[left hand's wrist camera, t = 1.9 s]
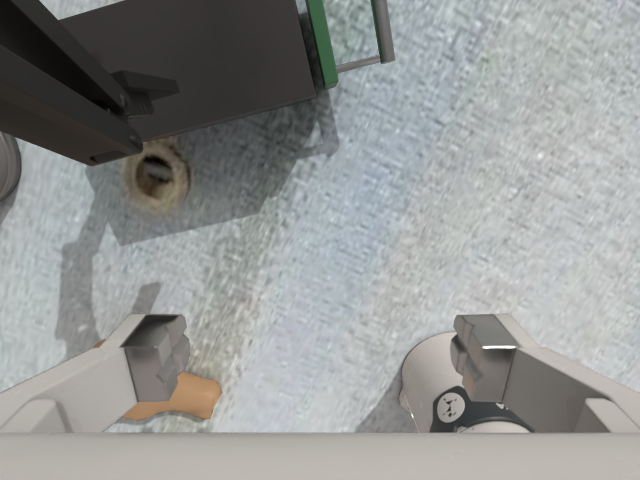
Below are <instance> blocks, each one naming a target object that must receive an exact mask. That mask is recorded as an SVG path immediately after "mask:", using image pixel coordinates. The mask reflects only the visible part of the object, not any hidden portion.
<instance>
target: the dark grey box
mask: <svg viewBox="0 0 640 480" xmlns="http://www.w3.org/2000/svg"><path fill="white" fill-rule="evenodd" d="M58 21H59V22H60V23H61V24H62V25H63V26H64V27H65V28H66V29H67V30H68V31H69V32H70V33H71V34H72V35H73V36H74V37H75V38H76V40H77V41H78V42H79V43H80V44H81V45H82V46H83V47H84V48H85V49H86V50H87V51H88V52H89V53H90V54H91V55H92V56H93V57H94V58H95V59H96V60H97V61H98V63H99V64H100V65H101V66H102V67H103V68H104V69H105V70H106V71H107V72H108V73H109V74H110V73H114V72H117V71H120V70H126V71H131V72H136V73H141V74H147V75H152V76H157V77H162V78H168V79H173V80H176V82H177V84H178V87H179V90H180V93H177V94H173V95H170V96H167V97H163V98H160V99H156V100H153V101H151V103H152V105H153V108H154V110H155V111H154V113H153V114H152V115H149V116H146V117H142V118H139V119H135V120H132V121H128V125H129V126H131V127H132V128H133V129H135V130H136V131H137V133H138V134H139V136H140V138H141V140H142V142H146V141H151V140H156V139H161V138H165V137H169V136H173V135H176V134H180V133H184V132H188V131H192V130H196V129H199V128H203V127H207V126H211V125H215V124H219V123H223V122H226V121H230V120H234V119H238V118H242V117H246V116H249V115H253V114H257V113H261V112H265V111H269V110H273V109H276V108H280V107H284V106H288V105H292V104H296V103H300V102H303V101H307V100H311V99H315V98H317V94H316V90H315V85H314V81H313V77H312V72H311V68H310V63H309V59H308V54H307V50H306V46H305V41H304V37H303V32H302V28H301V23H300V19H299V14H298V10H297V6H296V1H295V0H124V1H121V2H118V3H114V4H111V5H108V6H104V7H101V8H98V9H94V10H91V11H88V12H84V13H81V14H78V15H74V16H71V17H68V18H64V19H61V20H58Z"/></svg>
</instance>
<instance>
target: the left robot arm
mask: <svg viewBox="0 0 640 480" xmlns="http://www.w3.org/2000/svg"><path fill="white" fill-rule="evenodd" d="M186 327H187V326H186V321H185V317H184V316H183V315H182V314H130V315H128V316H127V317H126V318H125V319H124V321H123V322H122V323H121V324H120V325H119V326H118V327H117V328H116V329H115V330H114V331H113V333H112V334H111V335H110V336H109V337H108V338H107V339H106V340H105V341H104V342H103V344H102V345H101V346H100V347H99V348H92V349H89V350H87V351H85V352H83V353H81V354H79V355H77V356H75V357H73V358H71V359H69V360H67V361H65V362H63V363H61V364H59V365H56V366H54V367H52V368H50V369H48V370H46V371H44V372H42V373H40V374H38V375H36V376H34V377H32V378H30V379H28V380H26V381H23V382H21V383H19V384H17V385H15V386H13V387H11V388H9V389H7V390H5V391H3V392H1V393H0V480H640V393H639V392H637V391H635V390H633V389H631V388H629V387H627V386H625V385H623V384H620V383H618V382H616V381H614V380H612V379H610V378H608V377H606V376H604V375H602V374H600V373H598V372H596V371H594V370H592V369H590V368H588V367H585V366H583V365H581V364H579V363H577V362H575V361H573V360H571V359H569V358H567V357H565V356H563V355H561V354H559V353H557V352H555V351H553V350H551V349H548V348H541V347H540V346H539V345H538V344H537V342H536V341H535V340H534V339H533V338H532V337H531V336H530V335H529V334H528V333H527V331H526V330H525V329H524V328H523V327H522V326H521V325H520V324H519V323H518V322H517V320H516V319H515V318H514V317H513V316H512V315H510V314H508V313H507V314H481V315H457V316H456V318H455V320H454V325H453V327H454V329H455V331H456V332H449V333H442V334H439V335H435V336H433V337H430V338H428V339H426V340H424V341H423V342H421V343H420V344H418V345H417V346H416V347H415V348H414V349H413V350H412V351H411V352H410V353H409V355H408V356H407V358H406V360H405V362H404V364H403V368H402V383H403V387H402V390H401V393H400V395H399V403H400V405H401V407H402V408H404V409H405V410H407V411H409V412H411V415H412V418H413V420H414V423H415V425H416V428H417V431H418V433H103V432H104V431H105V430H106V429H108V428H109V427H110V426H111V425H113V424H114V423H115V422H116V421H117V420H119V419H120V418H121V417H122V416H123V415H125V414H126V413H127V412H128V411H130V410H131V409H132V408H133V407H134V406H136V405H137V404H138V403H137V402H161V401H169V400H170V398H171V396H172V394H173V392H174V390H175V388H176V386H177V385H178V379H177V376H178V375H180V374H181V373H183V372H184V371H185V369H186V366H187V364H188V360H189V356H190V344H189V339H188V338H187V337H186V336H185V335H184V334H183V332H184V331H185V329H186Z"/></svg>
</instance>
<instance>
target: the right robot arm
mask: <svg viewBox="0 0 640 480" xmlns="http://www.w3.org/2000/svg"><path fill="white" fill-rule="evenodd" d="M177 93H180V90H179V87H178V84H177V82H176V80H173V79H168V78H162V77H157V76H152V75H147V74H141V73H136V72H131V71H126V70H120V71H117V72H114V73H110V74H109V73H108V72H107V71H106V70H105V69H104V68H103V67H102V66H101V65H100V64H99V63H98V61H97V60H96V59H95V58H94V57H93V56H92V55H91V54H90V53H89V52H88V51H87V50H86V49H85V48H84V47H83V46H82V45H81V44H80V43H79V42H78V41H77V40H76V38H75V37H74V36H73V35H72V34H71V33H70V32H69V31H68V30H67V29H66V28H65V27H64V26H63V25H62V24H61V23H60V22H59V21H58V20H57V19H56V18H55V17H54V15H53V14H52V13H51V12H50V11H49V10H48V9H47V8H46V7H45V6H44V5H43V4H42V3H41V2H40V1H39V0H0V201H2V200H3V199H5V198H6V197H7V196H8V195H9V194H10V193H11V192H12V191H13V189H14V188H15V186H16V184H17V182H18V179H19V175H20V168H21V161H20V153H19V149H18V145H17V142H16V139H15V137H17V138H19V139H22V140H24V141H27V142H30V143H32V144H35V145H37V146H40V147H42V148H45V149H48V150H50V151H53V152H55V153H58V154H61V155H63V156H66V157H68V158H71V159H73V160H76V161H79V162H81V163H84V164H86V165H89V166H95V165H99V164H102V163H106V162H110V161H113V160H117V159H120V158H124V157H128V156H131V155H135V154H138V153H141V152H142V151H143V144H142V140H141V138H140V136H139V134H138V133H137V131H136V130H135V129H133V128H132V127H131V126H129V125H128V121H132V120H135V119H139V118H142V117H146V116H149V115H152V114H153V113H154V111H155V110H154V108H153V105H152V103H151V101H153V100H156V99H160V98H163V97H167V96H170V95H173V94H177Z"/></svg>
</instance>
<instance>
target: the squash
mask: <svg viewBox="0 0 640 480" xmlns="http://www.w3.org/2000/svg"><path fill="white" fill-rule="evenodd" d="M105 340H106V339H104V340H103V341H101V342H99V343H97V344H96V345H95V346H94V347H93V348H99V347H100V346H101V345H102V344H103V342H104V341H105ZM177 379H178V385H177V386H176V388H175V390H174V392H173V394H172V396H171V398H170V400H169V401H161V402H137V403H138V404H137V405H136V406H134V407H133V408H132V409H131V410H130V411H128V412H127V413H126V414H125V415H123V416H122V417H123V418H128V419H133V420H141V419H145V418H148V417H152V416H153V415H155V414H157V413H159V412H164V411H169V410H175V411H180V412H185V413H190V414H192V415H195V416H197V417H199V418H202V419H204V420H205V419H210V418H211V415H212V412H213V408H214V406H215V404H216V402H217V400H218V399H219V397H220V395H221V394H222V390H221V387H220V385H219V382H217V381H214V380H210V379H204V378H201V377H198V376H195V375H192V374H189V373H187V372H185V371H184V372H183V373H181V374H180V375H178V376H177Z"/></svg>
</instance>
